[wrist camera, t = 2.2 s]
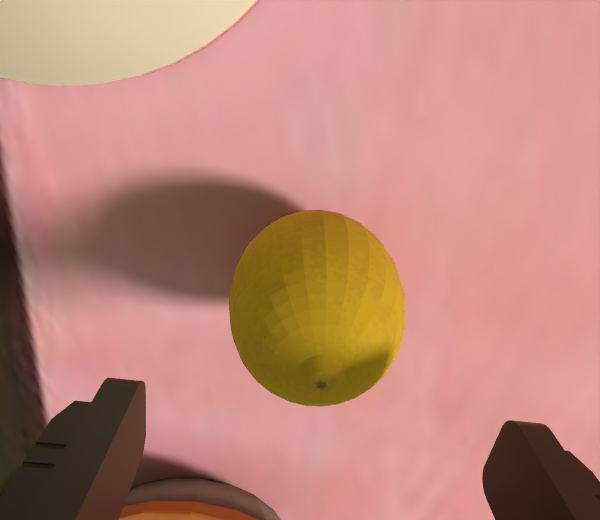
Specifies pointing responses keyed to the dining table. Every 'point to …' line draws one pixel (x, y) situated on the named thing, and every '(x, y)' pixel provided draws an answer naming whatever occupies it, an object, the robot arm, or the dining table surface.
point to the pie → (193, 502)
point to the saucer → (107, 37)
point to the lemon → (316, 308)
